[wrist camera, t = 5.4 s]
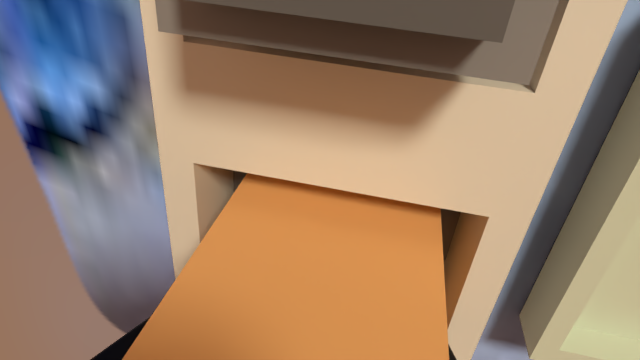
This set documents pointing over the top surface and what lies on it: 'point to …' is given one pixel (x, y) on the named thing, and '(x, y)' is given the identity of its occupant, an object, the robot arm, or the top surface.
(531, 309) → the tray
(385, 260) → the plug
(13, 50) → the top surface
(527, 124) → the cream slotted rack
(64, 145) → the top surface
